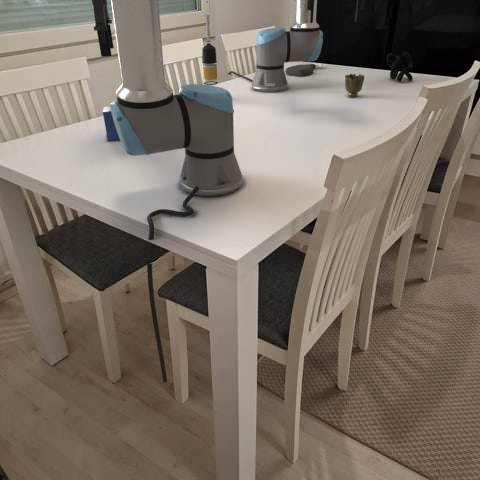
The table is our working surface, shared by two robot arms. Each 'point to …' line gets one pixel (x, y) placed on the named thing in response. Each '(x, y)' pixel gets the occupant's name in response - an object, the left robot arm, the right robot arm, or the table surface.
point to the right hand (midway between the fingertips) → (333, 22)
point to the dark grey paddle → (302, 69)
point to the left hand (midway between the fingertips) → (107, 52)
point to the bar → (110, 125)
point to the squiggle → (399, 66)
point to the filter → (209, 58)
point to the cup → (353, 84)
